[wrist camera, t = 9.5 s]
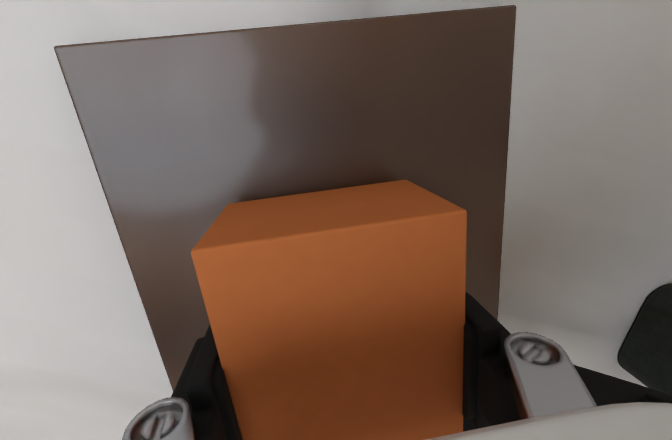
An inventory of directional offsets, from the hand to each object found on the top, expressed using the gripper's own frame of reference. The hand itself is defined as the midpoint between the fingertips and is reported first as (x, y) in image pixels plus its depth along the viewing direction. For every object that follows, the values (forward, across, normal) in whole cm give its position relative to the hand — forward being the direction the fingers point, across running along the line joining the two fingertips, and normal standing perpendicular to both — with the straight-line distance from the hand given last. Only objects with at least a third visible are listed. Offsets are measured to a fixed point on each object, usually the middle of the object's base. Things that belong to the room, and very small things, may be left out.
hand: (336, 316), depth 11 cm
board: (+2, 0, +2) cm, 3 cm away
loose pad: (+1, 0, 0) cm, 1 cm away
